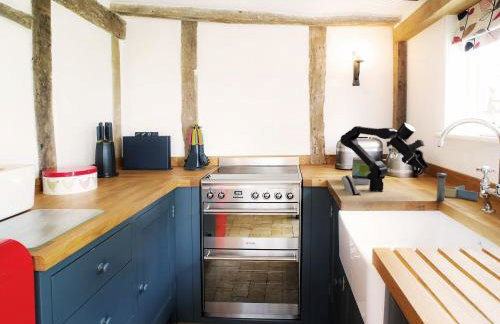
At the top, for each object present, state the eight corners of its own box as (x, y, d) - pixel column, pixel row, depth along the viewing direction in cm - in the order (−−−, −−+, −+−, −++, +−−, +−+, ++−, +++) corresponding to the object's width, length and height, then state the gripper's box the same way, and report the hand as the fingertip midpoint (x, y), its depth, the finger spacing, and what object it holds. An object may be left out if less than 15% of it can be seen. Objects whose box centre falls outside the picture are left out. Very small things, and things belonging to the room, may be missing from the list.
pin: (436, 201, 174) (438, 174, 172) (434, 199, 178) (435, 172, 176) (446, 202, 173) (448, 174, 171) (443, 200, 177) (445, 173, 175)
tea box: (369, 185, 216) (370, 159, 214) (351, 184, 218) (352, 159, 216) (368, 180, 230) (369, 157, 228) (351, 180, 233) (352, 156, 231)
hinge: (360, 195, 187) (354, 176, 186) (351, 198, 188) (345, 179, 187) (353, 188, 204) (348, 171, 203) (345, 191, 204) (339, 174, 203)
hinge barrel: (448, 199, 178) (448, 191, 177) (437, 191, 196) (437, 184, 196) (478, 200, 175) (478, 192, 175) (464, 193, 194) (464, 185, 193)
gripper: (407, 134, 175) (433, 157, 169) (418, 134, 190) (442, 155, 184) (391, 151, 181) (416, 174, 174) (402, 150, 195) (425, 170, 189)
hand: (425, 168), depth 180 cm, fingers open, 9 cm apart
